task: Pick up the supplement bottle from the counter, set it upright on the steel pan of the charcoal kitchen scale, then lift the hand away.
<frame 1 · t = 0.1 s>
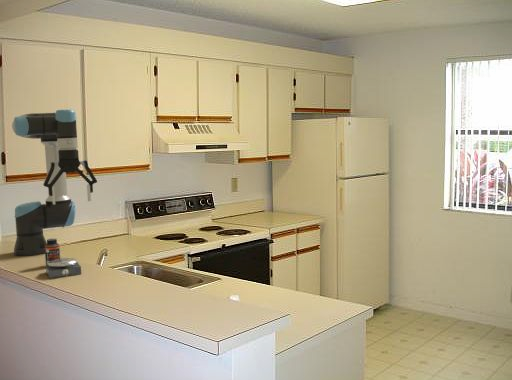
hand: (72, 202, 229), 28 cm above the counter, fingers open, 13 cm apart
kitchen scale: (63, 273, 230), on the counter
supplement bottle: (53, 266, 243), on the counter
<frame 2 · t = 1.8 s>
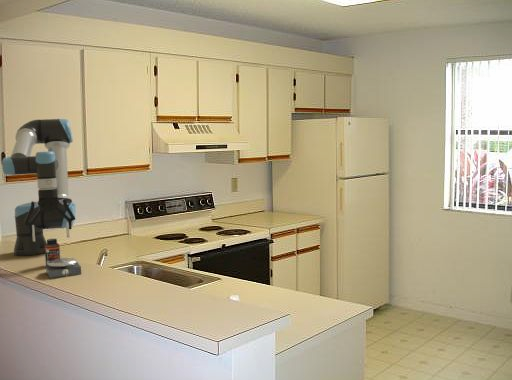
hand: (51, 239, 241), 11 cm above the counter, fingers open, 13 cm apart
nothing on the counter moved.
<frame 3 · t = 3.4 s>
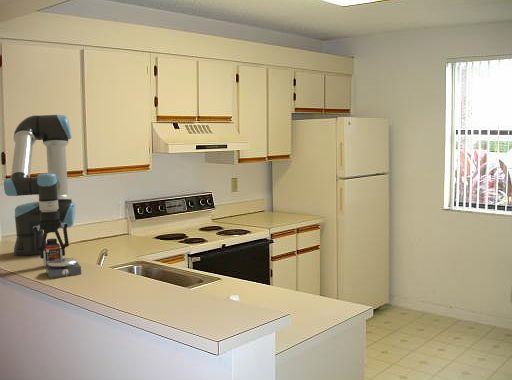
hand: (53, 264, 243), 0 cm above the counter, fingers closed on supplement bottle, 6 cm apart
supplement bottle: (53, 266, 243), on the counter, touching gripper
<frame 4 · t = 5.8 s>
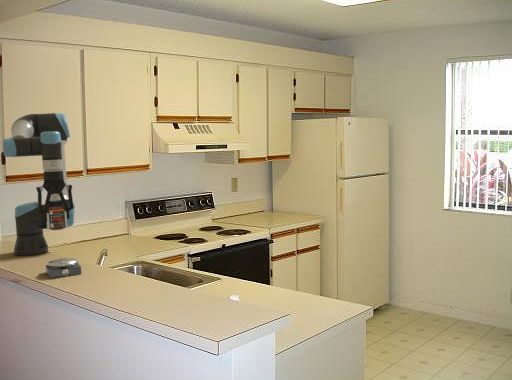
hand: (57, 228, 230), 18 cm above the counter, fingers closed on supplement bottle, 6 cm apart
supplement bottle: (57, 229, 230), point 17 cm above the counter, touching gripper
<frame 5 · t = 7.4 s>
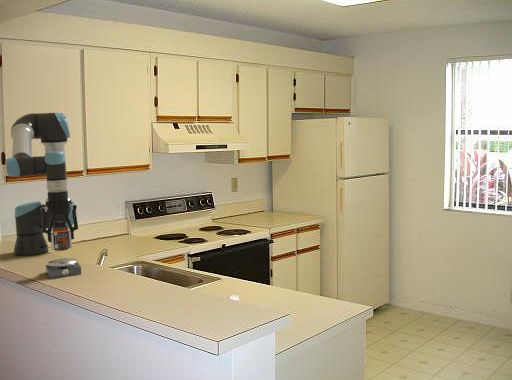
hand: (61, 248, 228), 10 cm above the counter, fingers closed on supplement bottle, 6 cm apart
supplement bottle: (61, 250, 228), point 9 cm above the counter, touching gripper
when the fingers open (7 cm above the counter, at t = 8.3 s): supplement bottle drops 2 cm, resting on kitchen scale.
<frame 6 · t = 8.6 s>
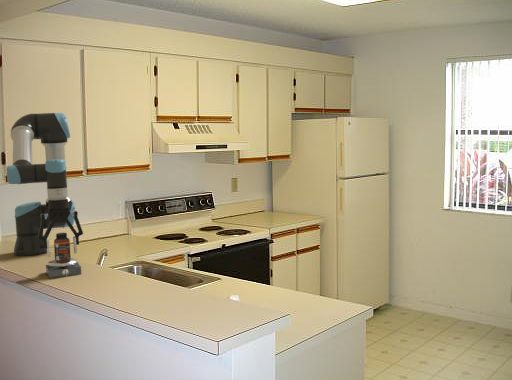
hand: (62, 254, 229), 8 cm above the counter, fingers open, 9 cm apart
supplement bottle: (63, 261, 229), point 5 cm above the counter, touching kitchen scale
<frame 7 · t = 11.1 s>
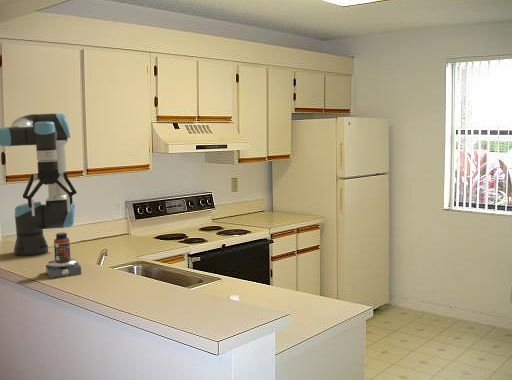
hand: (51, 213, 230), 24 cm above the counter, fingers open, 13 cm apart
nothing on the counter moved.
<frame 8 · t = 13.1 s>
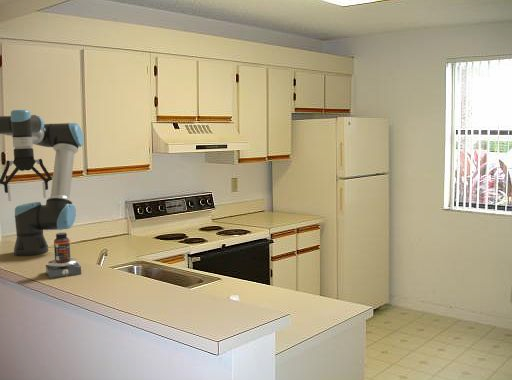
hand: (27, 199, 238), 29 cm above the counter, fingers open, 13 cm apart
nothing on the counter moved.
at the end: supplement bottle 0.2 cm off-centre on the kitchen scale, point 4.6 cm above the kitchen scale's base; supplement bottle tilted 0°; the gripper is holding nothing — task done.
